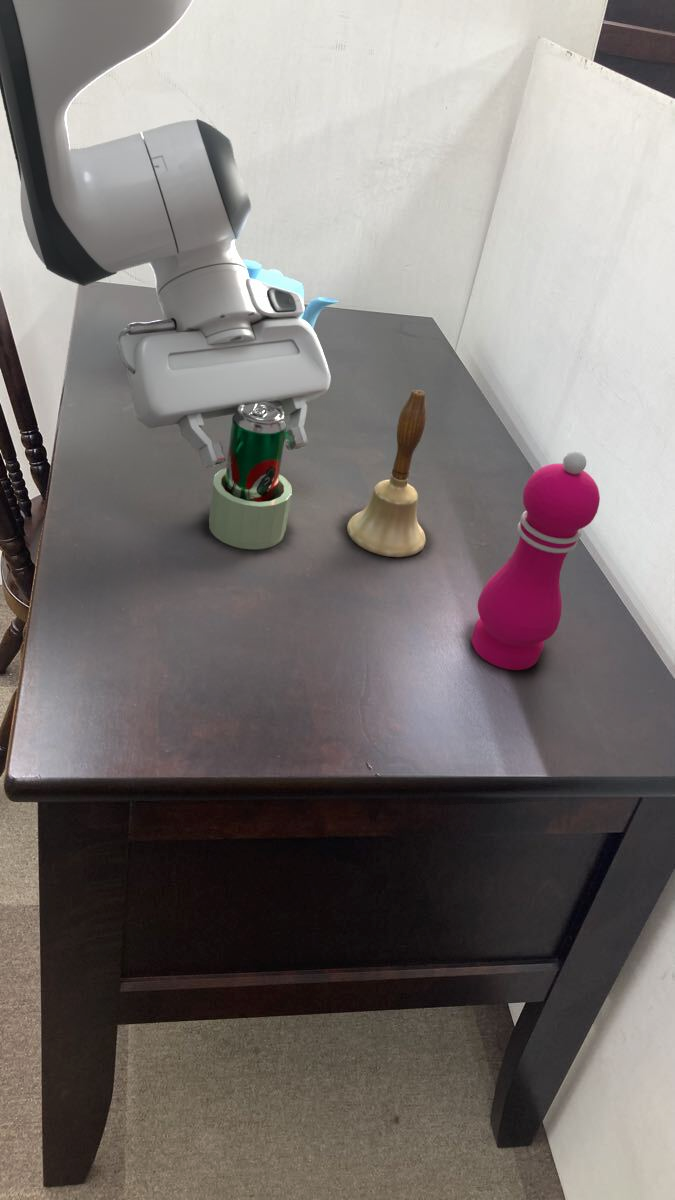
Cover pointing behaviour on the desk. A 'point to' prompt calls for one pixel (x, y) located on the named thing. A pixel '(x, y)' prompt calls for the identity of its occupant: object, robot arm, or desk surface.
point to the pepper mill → (535, 566)
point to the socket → (248, 516)
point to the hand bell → (395, 495)
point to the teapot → (289, 284)
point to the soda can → (255, 451)
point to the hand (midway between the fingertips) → (258, 456)
